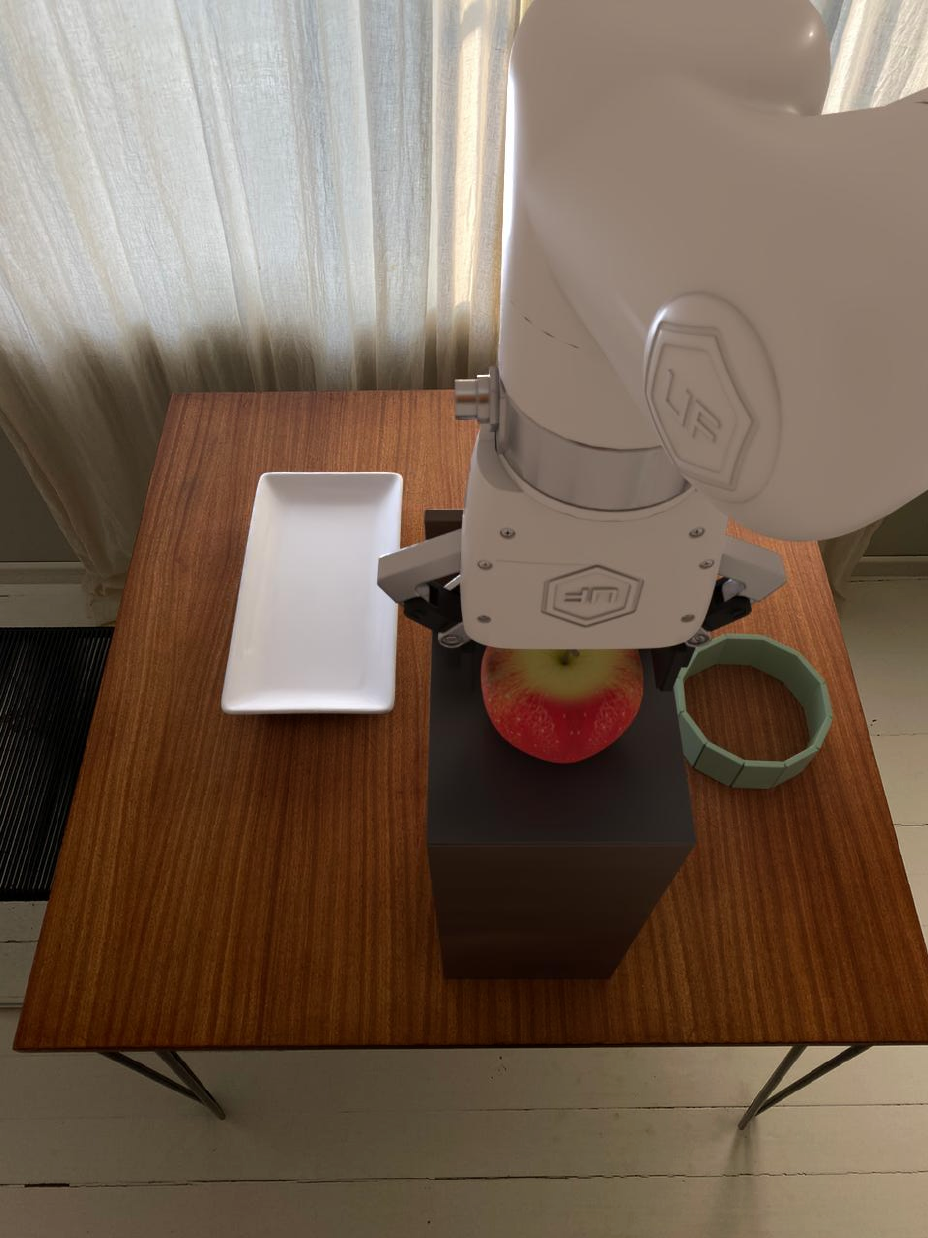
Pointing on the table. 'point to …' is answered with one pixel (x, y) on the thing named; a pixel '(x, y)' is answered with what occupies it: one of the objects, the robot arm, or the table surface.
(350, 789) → the table surface
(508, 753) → the stand
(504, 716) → the apple
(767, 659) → the faceted green band
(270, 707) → the tray
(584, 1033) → the table surface
